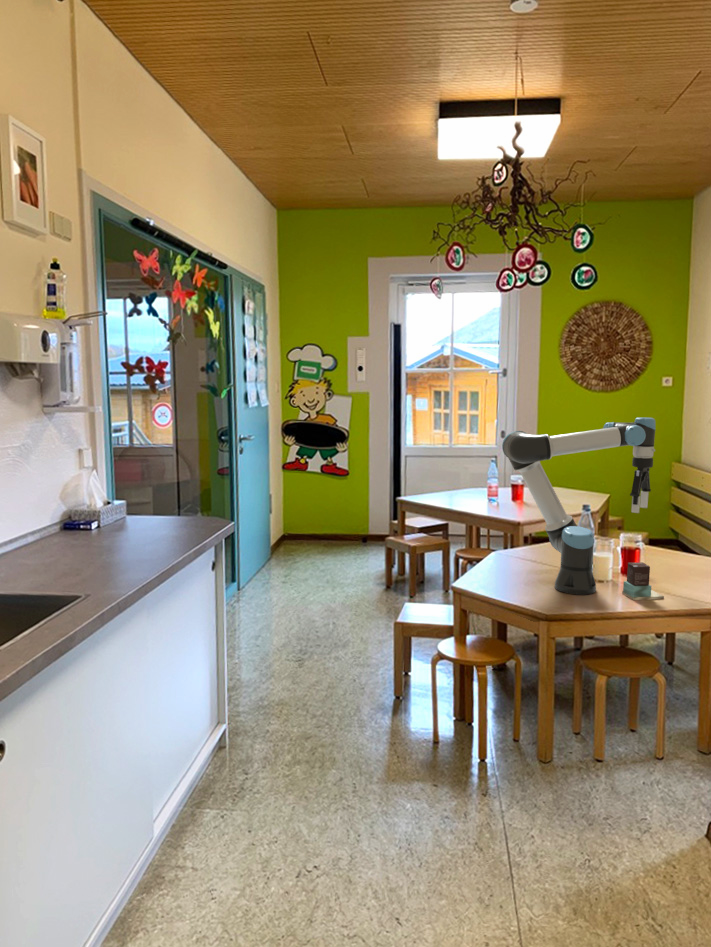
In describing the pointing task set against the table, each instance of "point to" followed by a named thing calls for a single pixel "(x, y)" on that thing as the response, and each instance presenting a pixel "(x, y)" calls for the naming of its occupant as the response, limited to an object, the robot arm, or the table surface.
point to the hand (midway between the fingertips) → (639, 510)
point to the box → (638, 574)
